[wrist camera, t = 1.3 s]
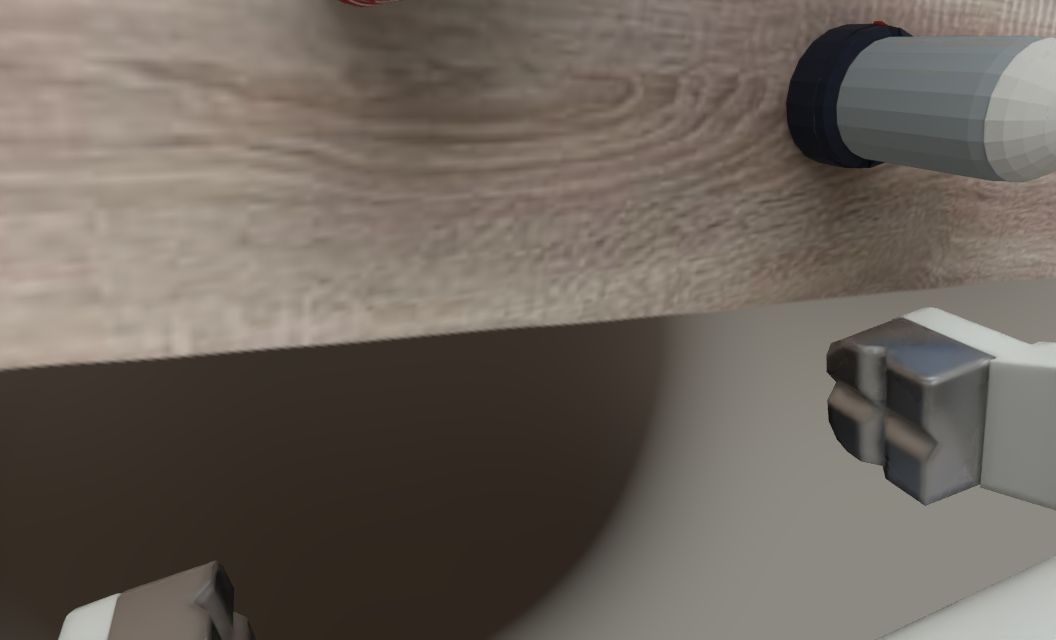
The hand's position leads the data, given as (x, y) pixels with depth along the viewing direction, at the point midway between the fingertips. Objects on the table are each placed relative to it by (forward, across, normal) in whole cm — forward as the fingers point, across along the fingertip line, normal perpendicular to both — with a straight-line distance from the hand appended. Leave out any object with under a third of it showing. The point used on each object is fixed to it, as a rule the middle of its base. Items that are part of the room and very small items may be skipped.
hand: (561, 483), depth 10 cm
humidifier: (+32, -30, +4) cm, 44 cm away
